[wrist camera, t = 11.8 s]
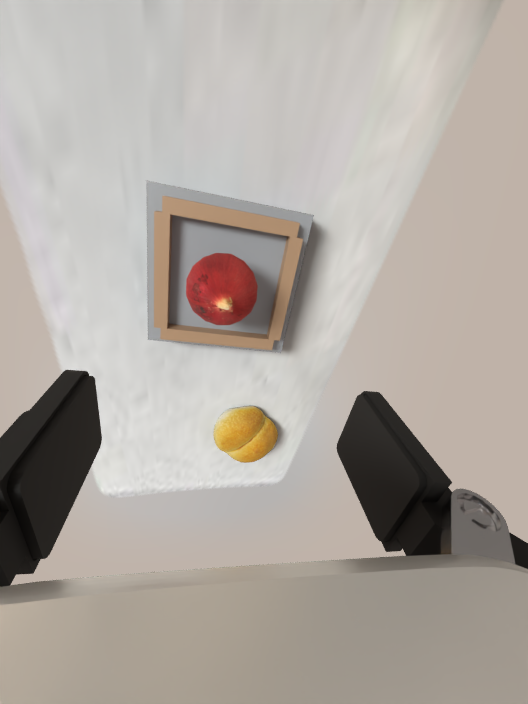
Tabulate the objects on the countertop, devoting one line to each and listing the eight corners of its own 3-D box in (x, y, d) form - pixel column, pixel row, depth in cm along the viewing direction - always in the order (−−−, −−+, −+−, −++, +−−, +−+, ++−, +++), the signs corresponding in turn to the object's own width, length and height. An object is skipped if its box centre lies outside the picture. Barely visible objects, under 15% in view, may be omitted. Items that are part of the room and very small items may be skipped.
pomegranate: (204, 315, 28) (200, 354, 21) (179, 258, 25) (164, 282, 18) (260, 296, 28) (273, 329, 21) (240, 237, 25) (249, 252, 18)
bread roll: (245, 393, 37) (248, 413, 34) (283, 428, 42) (289, 449, 38) (199, 426, 39) (197, 448, 36) (240, 457, 43) (242, 480, 40)
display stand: (154, 182, 25) (142, 179, 21) (304, 213, 28) (317, 216, 24) (154, 327, 31) (145, 345, 27) (276, 340, 34) (283, 358, 30)
